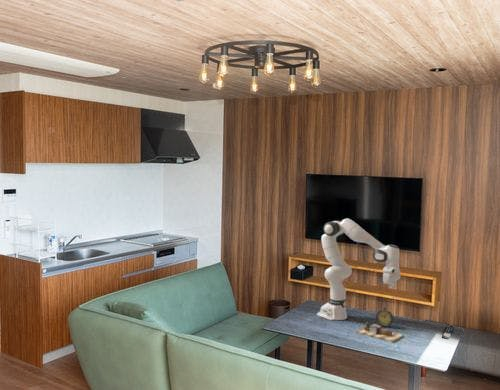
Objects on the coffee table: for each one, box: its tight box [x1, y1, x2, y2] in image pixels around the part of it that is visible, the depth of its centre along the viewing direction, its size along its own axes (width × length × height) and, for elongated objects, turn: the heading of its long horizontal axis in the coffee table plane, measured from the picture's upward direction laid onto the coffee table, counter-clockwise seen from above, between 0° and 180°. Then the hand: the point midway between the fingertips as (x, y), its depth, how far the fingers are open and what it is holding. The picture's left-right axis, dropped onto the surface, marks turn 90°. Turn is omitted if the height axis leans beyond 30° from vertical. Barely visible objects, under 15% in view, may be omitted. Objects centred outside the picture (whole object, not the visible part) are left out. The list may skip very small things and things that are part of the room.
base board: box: [356, 327, 404, 344], centre depth 318 cm, size 26×15×1 cm, turn 49°
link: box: [363, 321, 393, 336], centre depth 319 cm, size 19×4×5 cm, turn 48°
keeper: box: [369, 323, 382, 334], centre depth 320 cm, size 5×6×4 cm
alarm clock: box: [375, 303, 394, 328], centre depth 335 cm, size 11×5×16 cm, turn 62°
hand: (391, 288), depth 329 cm, fingers closed
